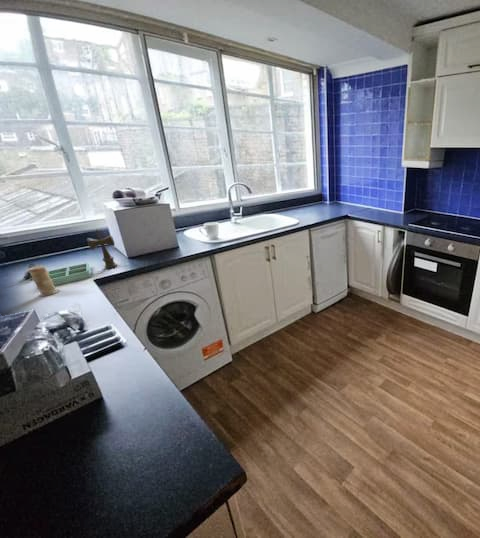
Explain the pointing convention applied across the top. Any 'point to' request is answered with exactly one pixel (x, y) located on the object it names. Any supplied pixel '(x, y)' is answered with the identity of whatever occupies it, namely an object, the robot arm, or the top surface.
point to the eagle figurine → (28, 271)
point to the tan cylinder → (42, 280)
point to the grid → (70, 273)
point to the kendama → (103, 249)
